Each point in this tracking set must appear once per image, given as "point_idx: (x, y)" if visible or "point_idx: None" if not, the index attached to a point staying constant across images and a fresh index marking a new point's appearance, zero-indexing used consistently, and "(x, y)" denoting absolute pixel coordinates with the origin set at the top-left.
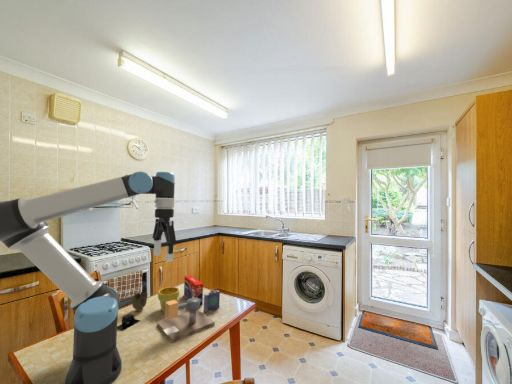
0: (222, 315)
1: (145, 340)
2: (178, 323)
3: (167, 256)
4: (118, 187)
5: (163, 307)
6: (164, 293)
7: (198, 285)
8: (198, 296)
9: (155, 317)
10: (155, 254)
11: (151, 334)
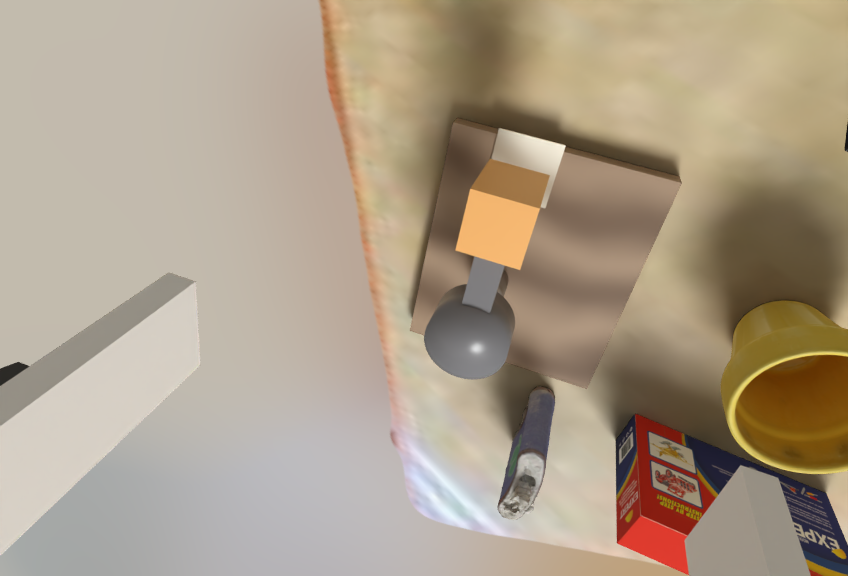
0: (448, 397)
1: (601, 40)
2: (548, 237)
3: (96, 333)
4: None
5: (786, 311)
6: None
7: (632, 521)
8: (629, 465)
9: (775, 230)
10: (734, 498)
11: (624, 98)
